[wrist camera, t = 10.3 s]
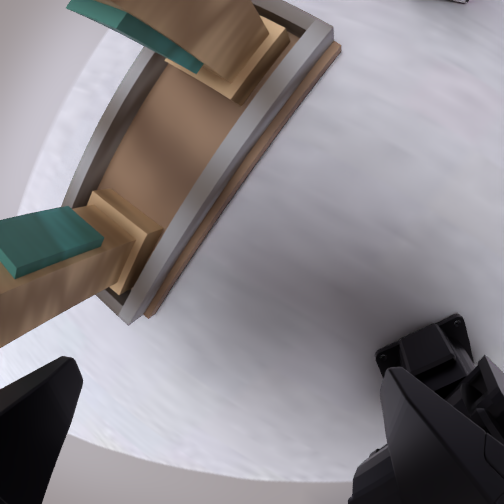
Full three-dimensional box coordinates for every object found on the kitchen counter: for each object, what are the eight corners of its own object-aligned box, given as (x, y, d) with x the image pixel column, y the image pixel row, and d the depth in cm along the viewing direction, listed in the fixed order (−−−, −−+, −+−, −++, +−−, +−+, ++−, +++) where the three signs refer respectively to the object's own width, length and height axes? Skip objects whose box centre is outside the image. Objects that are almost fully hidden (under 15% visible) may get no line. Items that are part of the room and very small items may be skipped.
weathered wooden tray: (214, -12, 17) (97, -132, 3) (341, 51, 16) (332, -126, 3) (69, 232, 24) (-76, 281, 11) (155, 313, 23) (18, 423, 10)
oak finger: (135, 285, 22) (-10, 375, 10) (88, 245, 22) (-58, 302, 10) (163, 228, 20) (-10, 295, 8) (110, 188, 21) (-59, 219, 9)
